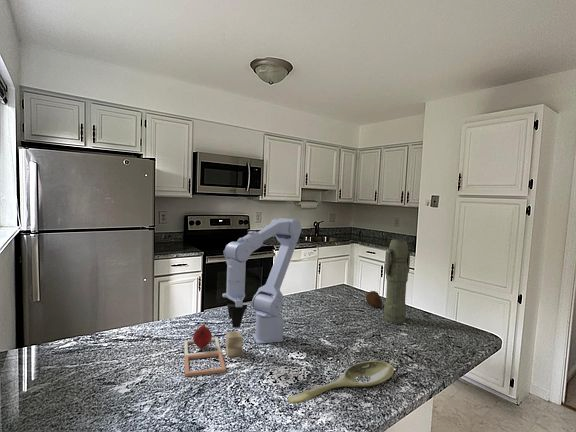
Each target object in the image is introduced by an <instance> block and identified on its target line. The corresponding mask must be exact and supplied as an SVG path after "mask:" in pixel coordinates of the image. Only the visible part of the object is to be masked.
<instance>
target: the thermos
mask: <svg viewBox="0 0 576 432" xmlns="http://www.w3.org/2000/svg"><path fill="white" fill-rule="evenodd" d="M410 264H411V252H410V251H409V244H408V241H407V240H406V239H405V238H392V239H391V240H390V243H389V247H388V250H387V251H386V253H385V268H384V269H385V270H384V272H385V279H386V290H385V291H386V292H385V302H384V306H383V307H384V309H383V314H384V316H383V319H385V320H384V321H386V320H387V321H389V322H388V323H390V322H392V323H391V324H395V323H398V324H399V323H402V324H404V322H406V316H407V305H406V297H407V295H406V294H407V293H406V292H407V283H408V279H409V273H410ZM387 321H386V322H387ZM398 324H397V325H398ZM399 325H400V324H399Z"/></svg>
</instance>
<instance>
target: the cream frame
mask: <svg viewBox="0 0 576 432" xmlns="http://www.w3.org/2000/svg"><path fill="white" fill-rule="evenodd" d="M183 342H184V343H183V346H184V349H183V351H184V356H185V355H194V354H204V353H214V352H221V353H222V350H221V349H222V348H221V345H220V342H219V338H218V337H212V338H211V341H210V343H211V342H212V343H213V342H214V344H215V348H216V350H213V351H202V352H192V353H191V352H189V346H188V345H190V344H195V343H194V341H193V339H185V340H184V341H183Z"/></svg>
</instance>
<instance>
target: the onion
mask: <svg viewBox="0 0 576 432" xmlns="http://www.w3.org/2000/svg"><path fill="white" fill-rule="evenodd" d="M212 336H213V334H212V332H211V330H210V329H209V328H208V327H207V326H206V324H205V323H202V324H201V326H200V327H198V328H197V329H196V330H195V331H194V333H193V337H192V340H193V341H194V343H193V344H194V345H195V346H196V347H197V348H200V349H205V348H206V347H208V345H209V344H210V343H211V342H210V341H211V338H213V337H212Z"/></svg>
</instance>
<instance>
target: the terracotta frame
mask: <svg viewBox="0 0 576 432" xmlns="http://www.w3.org/2000/svg"><path fill="white" fill-rule="evenodd" d="M212 357H213V358H215V357H218V361H219V365H220V367H217V368H210V369H201V370H192V371H190V369H189V360H192V359H193V360H194V359H202V358H203V359H204V358H212ZM226 371H227V369H226V364H225V362H224V357H223V353H222V351H221V352H214V353H204V354H194V355H185V354H184V377H185V378H186V377H193V376H194V377H195V376H196V377H197V376H202V375H212V374H219V373H227V372H226Z"/></svg>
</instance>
